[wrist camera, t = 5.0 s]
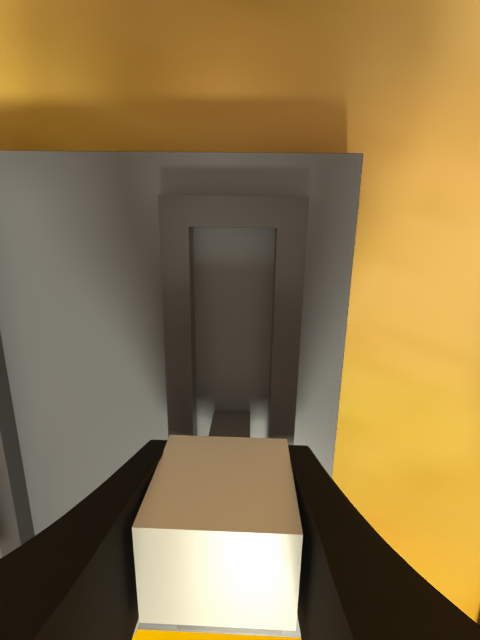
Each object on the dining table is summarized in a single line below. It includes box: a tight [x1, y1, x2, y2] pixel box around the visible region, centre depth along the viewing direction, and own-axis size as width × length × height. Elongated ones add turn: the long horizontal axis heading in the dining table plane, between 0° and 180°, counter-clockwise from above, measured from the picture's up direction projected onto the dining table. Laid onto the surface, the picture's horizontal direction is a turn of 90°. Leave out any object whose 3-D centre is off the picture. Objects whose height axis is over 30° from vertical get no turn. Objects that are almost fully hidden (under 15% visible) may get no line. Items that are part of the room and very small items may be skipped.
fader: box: [132, 411, 303, 631], centre depth 9 cm, size 3×2×5 cm
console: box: [0, 151, 363, 638], centre depth 12 cm, size 15×18×3 cm
